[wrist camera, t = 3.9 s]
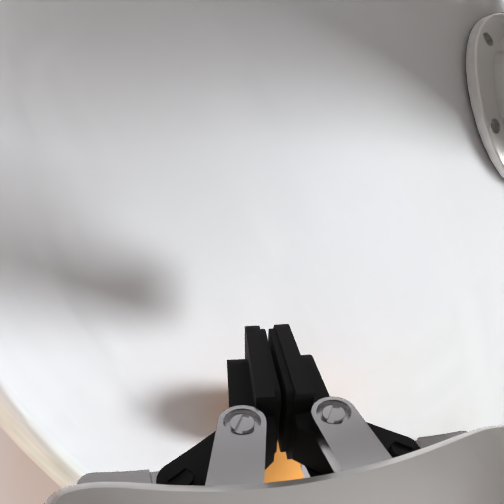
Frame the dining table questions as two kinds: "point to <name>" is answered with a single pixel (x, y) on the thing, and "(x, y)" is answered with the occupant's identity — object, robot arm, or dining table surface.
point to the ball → (282, 468)
